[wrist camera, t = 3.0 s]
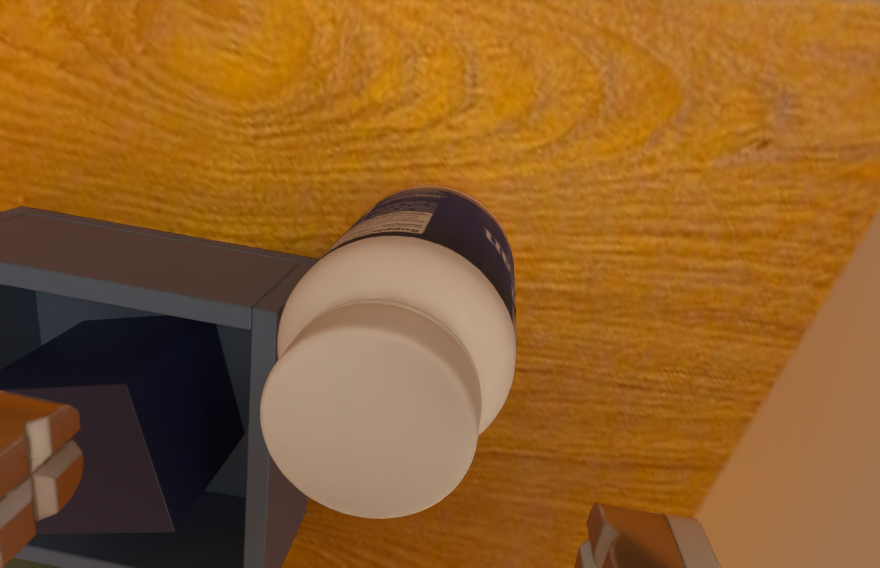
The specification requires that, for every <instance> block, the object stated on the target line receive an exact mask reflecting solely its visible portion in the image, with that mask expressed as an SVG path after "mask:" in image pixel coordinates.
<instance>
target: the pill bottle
mask: <svg viewBox="0 0 880 568" xmlns="http://www.w3.org/2000/svg"><path fill="white" fill-rule="evenodd" d="M516 347H517V341H516V308H515V281H514V262H513V255H512V252H511V247H510V244H509V241H508V239H507V236H506V234H505V232H504V230H503V228H502V227H501V225H500V223H499V222H498V220H497V219H496V218H495V217H494V215H493V214H492V213H491V212H490V211H489V210H488V209H487V208H486V207H485V206H484V205H483V204H481V203H480V202H479V201H477V200H476V199H474V198H473V197H471V196H469V195H467V194H465V193H463V192H460V191H458V190H455V189H452V188H448V187H443V186H432V185H426V186H415V187H410V188H406V189H403V190H400V191H397V192H395V193H393V194H391V195H389V196H387V197H385V198H384V199H382V200H381V201H379V202H378V203H377V204H375V205H374V206H373V207H372V208H371V209H370V210H369V211H367V212H366V213H365V214H364V215H363V216H362V217H361V218H360V219H359V220H358V221H357V222H356V223H355V224H354V225H353V226H352V227H351V228H350V229H349V230H348V231H347V232H346V233H345V234H344V235H343V236H342V237H341V238H340V239H339V240H338V241H337V242H336V243H335V244H334V245H333V246H332V247H331V248H330V249H329V250H328V251H327V252H326V253H325V254H324V255H323V256H322V257H321V258H320V259H319V260H318V261H317V262H316V263H315V264H314V265H313V266H312V267H311V268H310V269H309V270H308V271H307V273H306V274H305V275H304V276H303V278H302V279H301V280H300V281H299V282H298V284H297V285H296V287H295V288H294V290H293V291H292V293H291V295H290V296H289V298H288V300H287V302H286V304H285V307H284V310H283V313H282V316H281V320H280V324H279V330H278V338H277V350H278V359H279V360H278V361H277V362H276V364H275V365H274V367H273V368H272V370H271V372H270V374H269V376H268V378H267V380H266V383H265V386H264V389H263V393H262V397H261V404H260V422H261V428H262V434H263V437H264V440H265V443H266V446H267V448H268V451H269V453H270V455H271V457H272V458H273V460H274V462H275V463H276V465H277V466H278V468H279V469H280V471H281V472H282V473H283V474H284V476H285V477H286V478H287V479H288V480H289V481H290V482H291V483H292V484H293V485H294V486H295V487H297V488H298V489H299V490H300V491H301V492H302V493H304V494H305V495H306V496H308V497H309V498H311V499H313V500H314V501H316V502H318V503H320V504H322V505H324V506H326V507H328V508H330V509H333V510H335V511H338V512H341V513H344V514H348V515H352V516H357V517H363V518H381V519H385V518H395V517H402V516H407V515H411V514H414V513H417V512H420V511H422V510H425V509H427V508H429V507H431V506H433V505H434V504H436V503H438V502H440V501H441V500H442V499H443V498H445V497H446V496H447V495H449V494H450V493H451V492H452V491H453V490H454V489H455V488H456V487H457V486H458V485H459V483H460V482H461V481H462V479H463V478H464V476H465V474H466V473H467V471H468V469H469V467H470V465H471V463H472V461H473V458H474V454H475V451H476V447H477V440H478V436H479V435H480V434H481V433H482V432H483V431H484V430H485V429H486V428H487V427H488V426H489V425H490V424H491V423H492V422H493V420H494V419H495V418H496V416H497V415H498V413H499V412H500V410H501V408H502V407H503V405H504V403H505V401H506V399H507V396H508V394H509V391H510V388H511V385H512V381H513V377H514V371H515V362H516Z"/></svg>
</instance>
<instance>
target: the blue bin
mask: <svg viewBox="0 0 880 568" xmlns="http://www.w3.org/2000/svg"><path fill="white" fill-rule="evenodd" d="M318 260H319V259H316V258H310V257H305V256H299V255H293V254H288V253H282V252H276V251H271V250H265V249H259V248H254V247H248V246H243V245H237V244H231V243H226V242H220V241H214V240H209V239H203V238H197V237H192V236H186V235H180V234H175V233H169V232H163V231H158V230H152V229H147V228H141V227H135V226H130V225H124V224H118V223H113V222H107V221H101V220H96V219H90V218H84V217H79V216H73V215H67V214H62V213H56V212H51V211H45V210H39V209H34V208H28V207H22V206H21V207H18V208H14V209H11V210H8V211H4V212H0V370H2V369H3V368H5V367H7V366H8V365H10V364H12V363H13V362H15V361H17V360H18V359H20V358H22V357H23V356H25V355H27V354H28V353H30V352H32V351H33V350H35V349H37V348H38V347H40V346H42V345H43V344H45V343H47V342H48V341H50V340H52V339H53V338H55V337H57V336H58V335H60V334H62V333H64V332H65V331H67V330H69V329H70V328H72V327H74V326H75V325H77V324H79V323H80V322H82V321H87V320H101V319H116V318H131V317H145V316H160V315H170V316H176V317H181V318H186V319H192V320H197V321H203V322H208V323H214V324H216V326H217V330H218V334H219V338H220V342H221V345H222V349H223V353H224V357H225V361H226V364H227V368H228V372H229V376H230V380H231V383H232V387H233V391H234V395H235V399H236V402H237V406H238V410H239V414H240V418H241V421H242V425H243V429H244V433H245V435H244V436H243V438H242V439H241V440H240V442H239V443H238V445H237V446H236V447H235V449H234V450H233V452H232V453H231V454H230V456H229V457H228V459H227V460H226V461H225V463H224V464H223V465H222V467H221V468H220V470H219V471H218V472H217V474H216V475H215V477H214V478H213V479H212V481H211V482H210V484H209V485H208V486H207V488H206V489H205V491H204V492H203V493H202V495H201V496H200V498H199V499H198V500H197V502H196V503H195V504H194V506H193V507H192V509H191V510H190V511H189V513H188V514H187V516H186V517H185V518H184V520H183V521H182V523H181V524H180V525H179V527H178V528H177V530H176V531H175V532H150V533H62V534H36V535H35V536H34V537H33V538H32V539H31V540H30V541H29V542H28V543H27V544H26V545H25V546H24V547H23V548H22V549H21V550H20V551H19V552H18V553H17V554H16V555H15V556H14V558H19V559H24V560H28V561H33V562H38V563H43V564H47V565H52V566H57V567H62V568H281V566H282V564H283V562H284V560H285V558H286V555H287V553H288V551H289V549H290V547H291V544H292V542H293V540H294V538H295V536H296V533H297V531H298V529H299V527H300V525H301V522H302V520H303V518H304V516H305V513H306V505H307V496H306V495H305V494H304V493H302V492H301V491H300V490H299V489H298V488H297V487H295V486H294V485H293V484H292V483H291V482H290V481H289V480H288V479H287V478H286V477H285V476H284V474H283V473H282V472H281V471H280V469H279V468H278V466H277V465H276V463H275V462H274V460H273V458H272V457H271V455H270V453H269V451H268V448H267V446H266V443H265V440H264V437H263V434H262V428H261V422H260V404H261V397H262V393H263V389H264V386H265V383H266V380H267V378H268V376H269V374H270V372H271V370H272V368H273V367H274V365H275V364H276V362H277V361H278V360H279V359H278V350H277V338H278V330H279V324H280V320H281V316H282V313H283V310H284V307H285V304H286V302H287V300H288V298H289V296H290V295H291V293H292V291H293V290H294V288H295V287H296V285H297V284H298V282H299V281H300V280H301V279H302V278H303V276H304V275H305V274H306V273H307V271H308V270H309V269H310V268H311V267H312V266H313V265H314V264H315V263H316V262H317V261H318Z"/></svg>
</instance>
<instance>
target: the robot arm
mask: <svg viewBox="0 0 880 568" xmlns="http://www.w3.org/2000/svg"><path fill="white" fill-rule="evenodd" d="M80 429H81V424H80V416H79V410H77V409H76V408H75V407H73V406H72V405H70V404H65V403H61V402H56V401H51V400H46V399H41V398H37V397H32V396H27V395H22V394H18V393H13V392H12V393H9V392H6V391H1V390H0V568H3V567H4V566H5V565H6V564H7V563H8V562H9V561H10V560H11V559H12V558H13V557H14V556H15V555H16V554H17V553H18V552H19V551H20V550H21V549H22V548H23V547H24V546H25V545H26V544H27V543H28V542H29V541H30V540H31V539H32V538H33V537H34V536H35V535H36V533H37V522H38V521H40V520H42V519H44V518H47V517H49V516H51V515H54V514H56V513H58V512H59V511H60V510H61V509H62V508H63V507H64V506H65V505H66V504H67V503H68V502H69V501H70V500H71V498H72V496H73V495H74V493H75V491H76V489H77V487H78V485H79V483H80V481H81V478H82V473H83V468H84V458H83V451H82V450H81V449H80V447H79V446H78V445H77V443H76V442H75V441H74V439H73V437H74V436H75V435H76V434H77V433H78V432H79V430H80ZM587 528H588V534H589V540H587V541H586V542H584V543H583V544H582V545H580V547H579V550H578V554H577V558H576V562H575V568H721V567H720V565H719V563H718V560H717V558H716V556H715V554H714V552H713V549H712V547H711V545H710V543H709V541H708V539H707V536H706V534H705V532H704V530H703V527H702V525H701V523H699V522H698V521H697V520H696V519H694V518H688V517H682V516H675V515H669V514H663V513H662V514H657V513H651V512H646V511H640V510H635V509H629V508H623V507H618V506H612V505H607V504H601V503H596V502H595V504H594V505H593V507H592V509H591V510H590V514H589V517H588V520H587Z"/></svg>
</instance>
